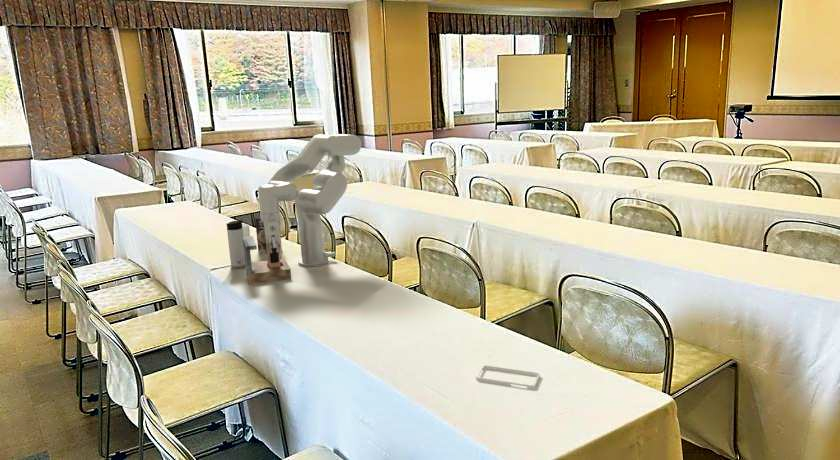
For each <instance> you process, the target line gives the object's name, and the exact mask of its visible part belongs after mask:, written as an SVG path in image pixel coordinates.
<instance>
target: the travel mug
mask: <svg viewBox="0 0 840 460" xmlns="http://www.w3.org/2000/svg"><path fill="white" fill-rule="evenodd" d="M242 224H243V220H232V221H228V223H226V231H227V241H228V250H229V257H230V259H229V261H230V268H231V269H234V270H241V269H244V268H246V267H245V257H244V248H243V238H242V237H243V228H242Z"/></svg>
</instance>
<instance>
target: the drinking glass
mask: <svg viewBox="0 0 840 460" xmlns="http://www.w3.org/2000/svg"><path fill="white" fill-rule="evenodd" d="M242 228H243V237H249V236H251V232H250V231H251V230H250V225H249V224H247V223H242Z"/></svg>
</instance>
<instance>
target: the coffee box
mask: <svg viewBox="0 0 840 460" xmlns="http://www.w3.org/2000/svg"><path fill="white" fill-rule="evenodd" d="M254 219H255V231H256V240H257V250H258V251H257V252H258V253H261V254H262V253H264V254H267V249H266V236H265V227H264V221H261V217H260V216H258V217H255V218H254ZM280 220H281V219H280ZM280 220H278V224H279V231H280V241H281V242H282V236H281V234H282V233H281V222H280ZM282 250H283V248H282V244H281V245H279V252H281V251H282Z"/></svg>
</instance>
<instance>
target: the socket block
mask: <svg viewBox="0 0 840 460" xmlns="http://www.w3.org/2000/svg"><path fill="white" fill-rule="evenodd" d="M242 238H243V248H244V257H245V267H244V268H245V273H246V277H247V280H248V285H255V284H260V283H261V284H262V283H269V282H277V281H283V280H291V279H292V271H291V267H290V265H289V263H288V262H287V259H286V258H280V265H281V267H273V268H268V261H267V260H262V261H260V260H259V261H254V262H252V258H251V257H252V256H251V255H252V254H251V251H255V250H258V245H257V244H256V242H255V239H254V236H253V235H250V236H249V237H242Z"/></svg>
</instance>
